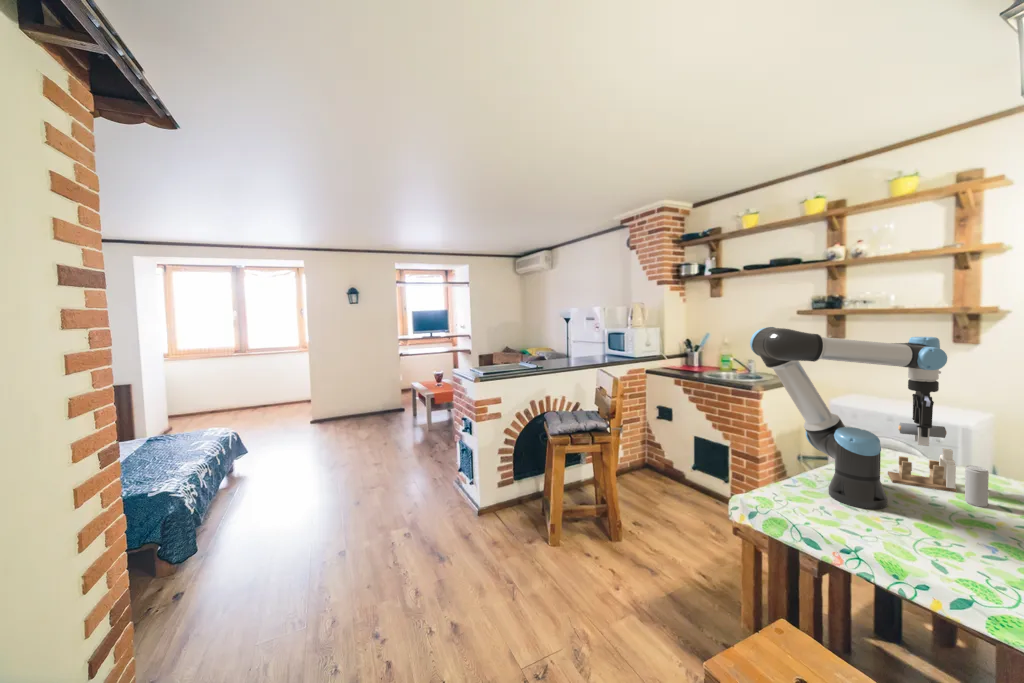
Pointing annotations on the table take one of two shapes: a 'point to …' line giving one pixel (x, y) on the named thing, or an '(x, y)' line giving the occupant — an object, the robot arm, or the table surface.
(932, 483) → the cradle board
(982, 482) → the beverage can
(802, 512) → the table surface
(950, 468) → the white bar frame
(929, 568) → the table surface
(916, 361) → the robot arm
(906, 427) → the grey capped cylinder
